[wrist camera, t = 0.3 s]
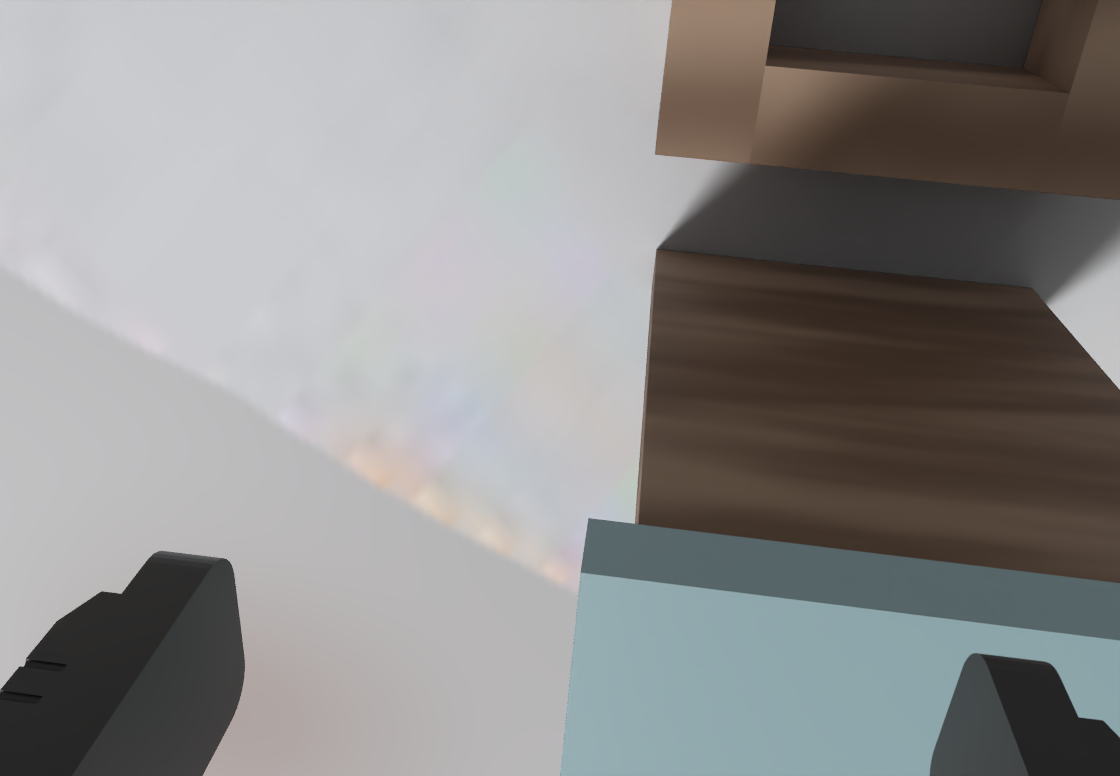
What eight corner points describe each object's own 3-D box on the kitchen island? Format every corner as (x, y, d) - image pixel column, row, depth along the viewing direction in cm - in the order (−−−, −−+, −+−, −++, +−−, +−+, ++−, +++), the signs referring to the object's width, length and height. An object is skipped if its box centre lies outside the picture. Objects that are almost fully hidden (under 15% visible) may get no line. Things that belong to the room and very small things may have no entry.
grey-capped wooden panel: (638, 177, 36) (580, 572, 16) (1082, 221, 35) (1656, 708, 15) (624, 302, 39) (558, 792, 18) (1040, 346, 38) (1485, 921, 17)
